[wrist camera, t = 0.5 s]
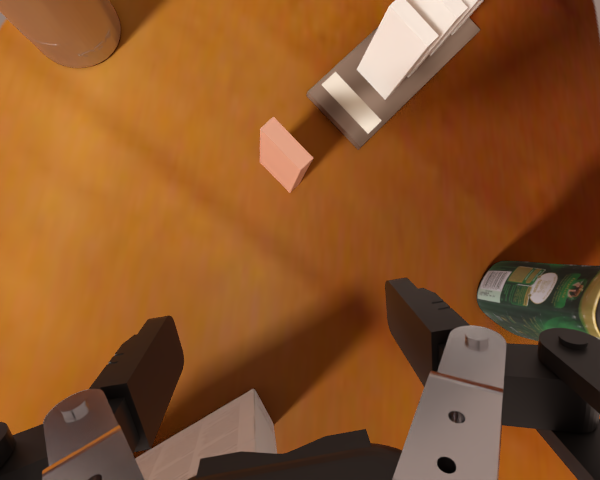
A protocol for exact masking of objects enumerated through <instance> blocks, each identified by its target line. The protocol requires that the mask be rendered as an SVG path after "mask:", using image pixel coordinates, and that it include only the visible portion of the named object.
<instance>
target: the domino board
mask: <svg viewBox="0 0 600 480" xmlns="http://www.w3.org/2000/svg"><path fill="white" fill-rule="evenodd" d="M378 27H379V26H378ZM378 27H377V28H376V29H375V30H374V31H373V32H372V33H371V34H370V35H369V36H368V37H366V38H365V39H364V40H363V41H362V42H361V43H360V44H359V45H358V46H357V47H356V48H355V49H353V50H352V51H351V52H350V53H349V54H348V55H347V56H346V57H345V58H344V59H343V60H341V61H340V62H339V63H338V64H337V65H336V66H335V67H334V68H333V69H332V70H331V71H330V72H328V73H327V74H326V75H325V76H324V77H323V78H322V79H321V80H320V81H319V82H318V83H316V84H315V85H314V86H313V87H312V88H311V89H310V90H309V91H308V92H307V97H308V98H309V99H310V100H311V101H312V102H313V103H314V104H315V105H316V106H317V107H318V108H319V109H320V110H321V111H322V112H323V114H324V115H325V116H326V117H327V118H328V119H329V120H330V121H331V122H332V123H333V124H334V125H335V126H336V127H337V128H338V129H339V130H340V131H341V132H342V133H343V134H344V135H345V137H346V138H347V139H348V140H349V141H350V142H351V143H352V144H353V145H354V146H355V147H356V148H357V149H358V150H359V149H360V148H361V147H362V146H363V145H364V144H365V143H366V142H367V141H368V140H369V139H370V138H371V137H372V136H373V135H374V134H375V133H376V132H377V131H378V130H379V129H380V128H381V127H382V126H383V125H384V124H385V123H386V122H387V121H388V120H389V119H390V118H391V117H392V116H393V115H394V114H395V113H396V112H397V111H398V110H399V109H400V108H401V107H402V106H403V105H404V104H405V103H407V102H408V101H409V100H410V99H411V98H412V97H413V96H414V95H415V94H416V93H417V92H418V91H419V90H420V89H421V88H422V87H423V86H424V85H425V84H426V83H427V82H428V81H429V80H430V79H431V78H432V77H433V76H434V75H435V74H436V73H437V72H438V71H439V70H440V69H441V68H442V67H443V66H444V65H445V64H446V63H447V62H448V61H449V60H450V59H451V58H452V57H453V56H454V55H456V54H457V53H458V52H459V51H460V50H461V49H462V48H463V47H464V46H465V45H466V44H467V43H468V42H469V41H470V40H471V39H472V38H473V37H474V36H475V35H476V34H477V33H478V32H479V31H480V29H479V28H478V27H477V26H476V25H475V23H474V22H473V21H472V20H471V19H470V18H468V19H467V20H466V21H465V23H464V24H463V25H462V26H461V27H460V28H459V29H458V30H457V31H456V32H455V33H454V34H453V35H451V34H450V36H449V37H448V38H447V39H446V40H445V41H444V43H443V44H442V45H441V46H440V47H439V48H438V49H437V50H436V51H435V52H434V53H433V54H432V55H431V56H430V55H428V57H427V58H426V59H425V60H424V61H423V63H422V64H421V65H420V66H419V67H418V69H417V70H416V71H415V72H414V73H413V74H412V75H410V76H409V77H407V76H406V77H405V78H404V80H403V81H402V82H401V83H400V85H399V86H398V87H397V88H396V90H395V91H394V92H393V93H392V94H391V95H390V96H389V97H388V98H387V99H386V100H385V99H384V98H383V97H382V96H381V95H380V94H379V93H378V92H377V91H376V90H375V89H374V88H373V86H372V85H371V84H370V83H369V82H368V81H367V80H366V79H365V78H364V77H363V76H362V75H361V74H360V73H359V72H358V71H357V68H358V66H359V64H360V62H361V60H362V58H363V56H364V54H365V52H366V50H367V48H368V46H369V44H370V43H371V41H372V39H373V37H374V35H375V33H376V31H377V29H378Z"/></svg>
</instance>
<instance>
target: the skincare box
mask: <svg viewBox="0 0 600 480" xmlns="http://www.w3.org/2000/svg"><path fill="white" fill-rule="evenodd" d="M240 451H244V452H259V453H274V454H277V449H276V440H275V432H274V424H273V422H272V420H271V418H270V416H269V414H268V412H267V411H266V409H265V407H264V405H263V403H262V401H261V399H260V398H259V396H258V394H257V392H256V390H255V389H251V390H250V391H248V392H247V393H245V394H243V395H241V396H240V397H238V398H236V399H235V400H233V401H231V402H229V403H228V404H226V405H224V406H223V407H221V408H219V409H218V410H216V411H214V412H213V413H211V414H209V415H207V416H206V417H204V418H203V419H201V420H199V421H198V422H196V423H194V424H192V425H191V426H189V427H187V428H186V429H184V430H182V431H180V432H179V433H177V434H175V435H174V436H172V437H170V438H169V439H167V440H165V441H164V442H162V443H160V444H158V445H157V446H155V447H153V448H152V449H150V450H148V451H147V452H145V453H143V454H142V455H140V456H138V457H137V458H135V460H136V462H137V464H138V466H139V469H140V471H141V473H142V475H143V477H144V480H187V479H189V478H191V477H193V476H195V475H197V471H198V467H199V462H200V459H201V458H207V457H212V456H218V455H224V454H229V453H235V452H240Z"/></svg>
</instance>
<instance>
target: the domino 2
mask: <svg viewBox="0 0 600 480" xmlns="http://www.w3.org/2000/svg"><path fill="white" fill-rule="evenodd" d="M438 36H439V35H438V34H437V33H436V32H435V31H434V30H433V29H432V28H431V27H430V26H429V25H428V23H427V22H426V21H425V20H424V19H423V18H422V17H421V16H420V15H419V14H418V13H417V11H416V10H415V9H414V8H413V7H412V6H411V5H410V4H409V3H408V2H407V1H406V0H395V1H394V2H393V3H392V4H391V5H390V6H389V8H388V10H387V12H386V13H385V15H384V17H383V19H382V21H381V23H380V25H379V27H378V29H377V31H376V33H375V35H374V37H373V39H372V41H371V43H370V44H369V46H368V48H367V50H366V52H365V54H364V56H363V58H362V60H361V62H360V64H359V66H358V68H357V71H358V72H359V73H360V74H361V75H362V76H363V77H364V78H365V79H366V80H367V81H368V82H369V83H370V84H371V85H372V86H373V88H374V89H375V90H376V91H377V92H378V93H379V94H380V95H381V96H382V97H383V98H384V99H385V100H386V99H387V98H388V97H389V96H390V95H391V94H392V93H393V92H394V91H395V90H396V88H397V87H398V86H399V85H400V83H401V82H402V81H403V80H404V78H405V77H406V76H407V75H408V73H409V72H410V71H411V70H412V69H413V67H414V66H415V65H416V64H417V62H418V61H419V60H420V59H421V57H422V56H423V55H424V54H425V52H426V51H427V50H428V49H429V48H430V46H431V45H432V44H433V43H434V41H435V40H436V39H437V38H438Z"/></svg>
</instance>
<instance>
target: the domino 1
mask: <svg viewBox="0 0 600 480" xmlns="http://www.w3.org/2000/svg"><path fill="white" fill-rule="evenodd" d="M312 160H313V157H312V156H311V155H310V154H309V153H308V152H307V151H306V150H305V149H304V148H303V147H302V146H301V145H300V144H299V143H298V142H297V141H296V140H295V139H294V137H293V136H292V135H291V134H290V133H289V132H288V131H287V130H286V129H285V128H284V127H283V126H282V125H281V124H280V123H279V122H278V121H277V120H276V119H275V118H274V117H272V118H271V119H270V120H269V121H268V122H267V123H266V124H265V125H264V126H262V127H261V128H260V163H261V164H262V165H263V166H264V167H265V168H266V169H267V170H268V171H269V172H270V173H271V174H272V175H273V176H274V177H275V178H276V179H277V180H278V181H279V182H280V183H281V184H282V185H283V186H284V187H285V188H286V189H287V191H288V192H289V193H290V192H291V191H292V190H293V189H295V188H296V187H297V186H298V185H299V184H300V182H301V180H302V178H303V176H304V174H305V173H306V171H307V169H308V167H309V165H310V163H311V161H312Z"/></svg>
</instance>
